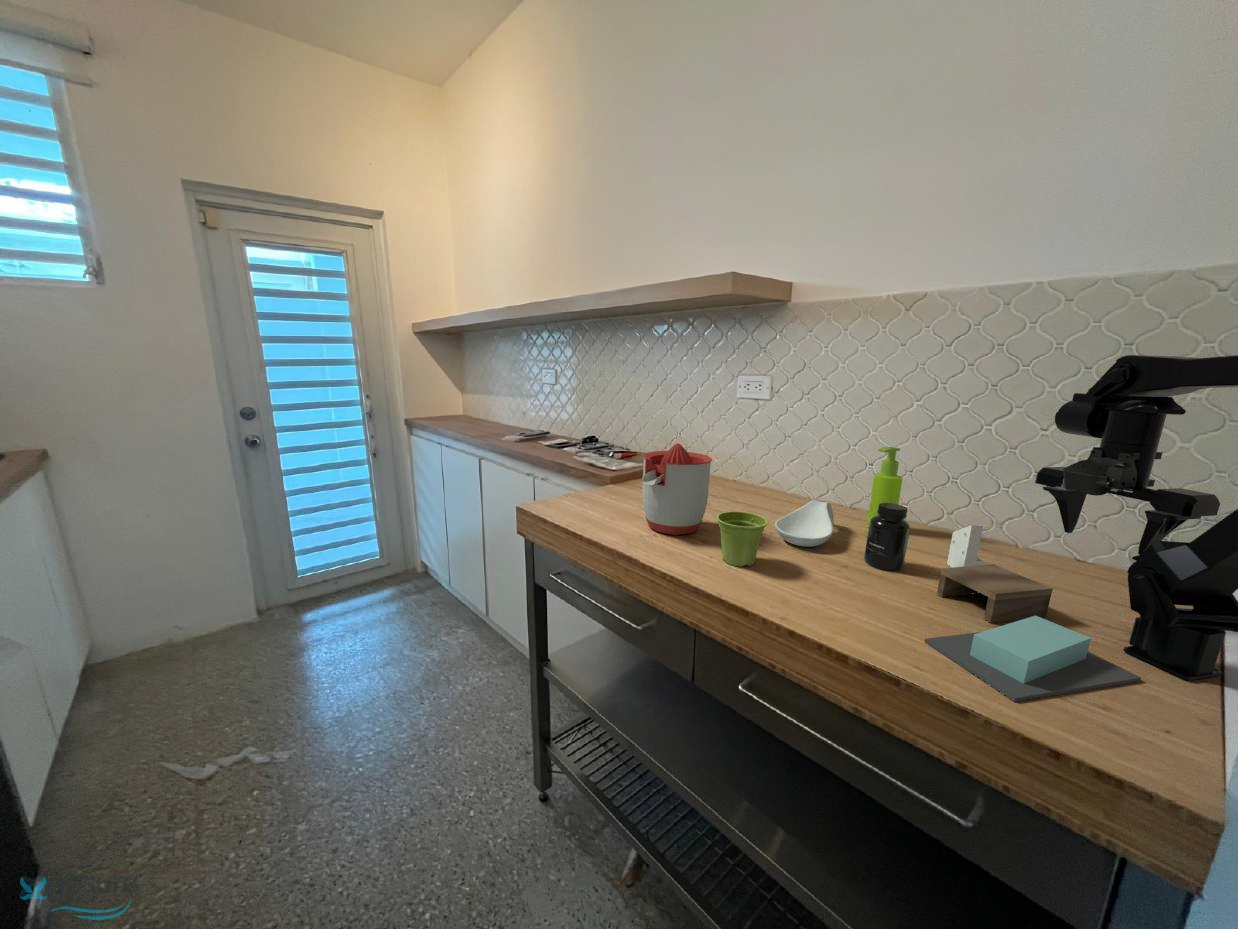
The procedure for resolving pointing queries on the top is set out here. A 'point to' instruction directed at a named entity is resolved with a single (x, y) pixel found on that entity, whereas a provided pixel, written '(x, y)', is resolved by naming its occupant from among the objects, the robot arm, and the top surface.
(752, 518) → the plant pot
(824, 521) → the spoon rest
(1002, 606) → the sleeve box
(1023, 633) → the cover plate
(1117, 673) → the rubber mat
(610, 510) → the top surface
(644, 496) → the citrus juicer
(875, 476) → the soap dispenser
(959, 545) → the white wedge bracket
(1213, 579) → the robot arm
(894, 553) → the supplement bottle
